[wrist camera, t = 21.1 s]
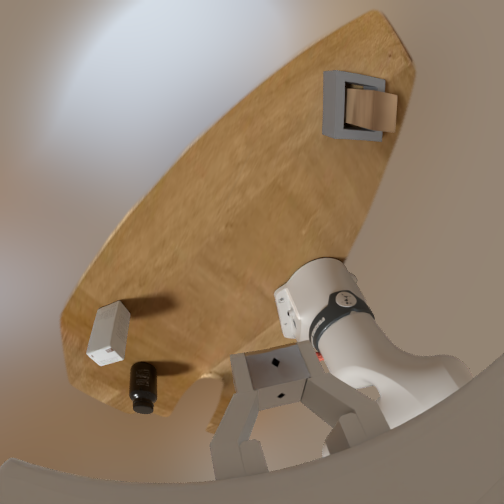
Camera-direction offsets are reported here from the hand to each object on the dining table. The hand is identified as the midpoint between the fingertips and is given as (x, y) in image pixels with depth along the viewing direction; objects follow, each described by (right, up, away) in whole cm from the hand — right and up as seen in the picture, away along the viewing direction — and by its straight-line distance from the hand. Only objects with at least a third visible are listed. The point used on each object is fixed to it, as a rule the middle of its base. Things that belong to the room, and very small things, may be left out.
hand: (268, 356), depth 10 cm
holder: (+15, +28, +28) cm, 42 cm away
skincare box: (-28, -8, +39) cm, 49 cm away
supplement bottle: (-28, -25, +51) cm, 63 cm away
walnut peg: (+15, +27, +28) cm, 42 cm away
